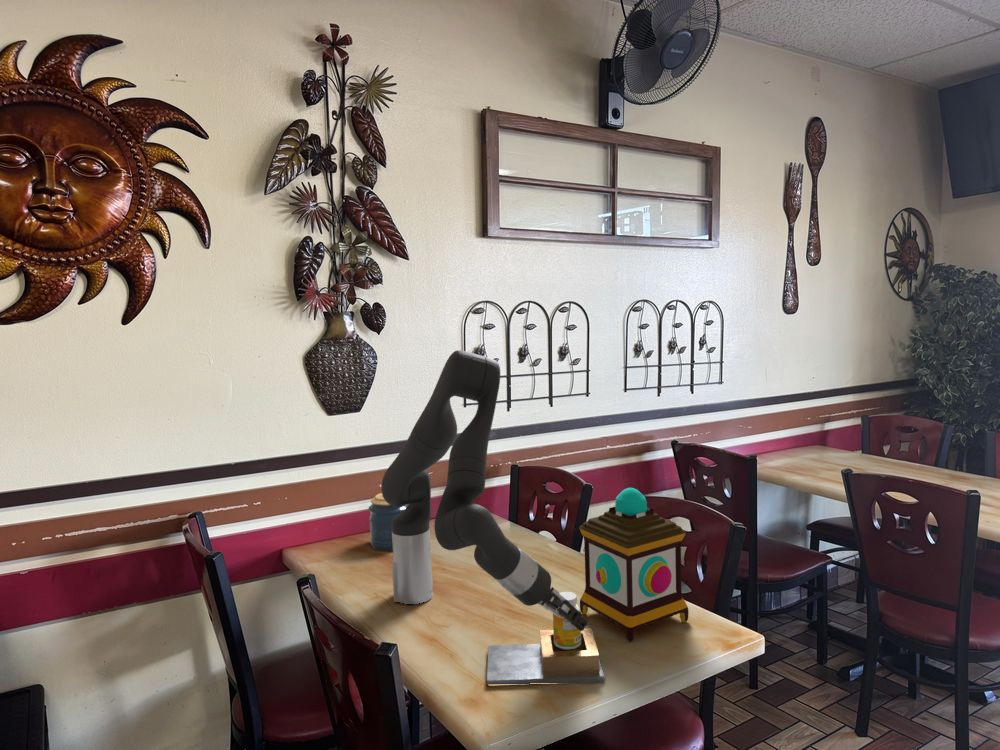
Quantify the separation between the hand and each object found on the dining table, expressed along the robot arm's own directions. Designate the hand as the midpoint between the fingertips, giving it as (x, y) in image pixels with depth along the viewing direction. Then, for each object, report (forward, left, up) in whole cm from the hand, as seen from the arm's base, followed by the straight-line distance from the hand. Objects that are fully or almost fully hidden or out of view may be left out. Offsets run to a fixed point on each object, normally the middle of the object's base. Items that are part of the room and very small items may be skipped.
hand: (574, 620), depth 131 cm
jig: (-6, -1, -9) cm, 11 cm away
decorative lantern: (+15, +18, -9) cm, 25 cm away
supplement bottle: (-2, -1, -4) cm, 5 cm away
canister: (-48, +72, -9) cm, 87 cm away
